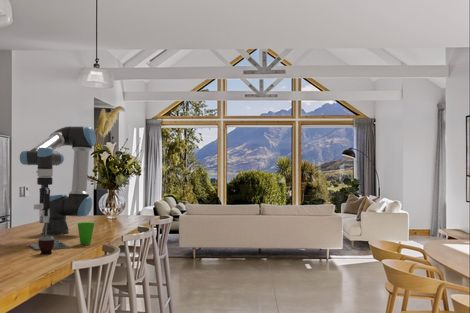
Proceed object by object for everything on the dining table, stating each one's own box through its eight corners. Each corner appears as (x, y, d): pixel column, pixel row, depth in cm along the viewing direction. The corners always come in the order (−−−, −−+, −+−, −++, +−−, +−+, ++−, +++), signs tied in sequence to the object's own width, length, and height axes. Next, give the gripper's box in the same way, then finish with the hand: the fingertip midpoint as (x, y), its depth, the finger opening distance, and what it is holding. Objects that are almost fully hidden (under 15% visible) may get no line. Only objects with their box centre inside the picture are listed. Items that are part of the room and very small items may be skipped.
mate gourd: (47, 251, 256) (47, 220, 256) (58, 253, 252) (59, 221, 252) (34, 254, 249) (34, 221, 250) (45, 255, 245) (46, 222, 246)
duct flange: (61, 244, 281) (61, 237, 281) (69, 248, 268) (69, 241, 268) (29, 246, 273) (29, 239, 273) (35, 250, 259) (36, 243, 259)
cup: (97, 243, 286) (98, 222, 286) (87, 245, 277) (88, 224, 277) (83, 242, 289) (83, 221, 289) (72, 244, 280) (73, 223, 280)
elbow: (48, 221, 285) (48, 202, 285) (50, 222, 281) (50, 203, 281) (33, 222, 281) (33, 203, 281) (35, 223, 277) (35, 204, 277)
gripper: (33, 176, 288) (33, 220, 288) (41, 177, 272) (40, 224, 272) (48, 176, 292) (47, 219, 292) (56, 177, 276) (55, 223, 276)
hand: (44, 221), depth 282 cm, fingers closed on elbow, 5 cm apart
